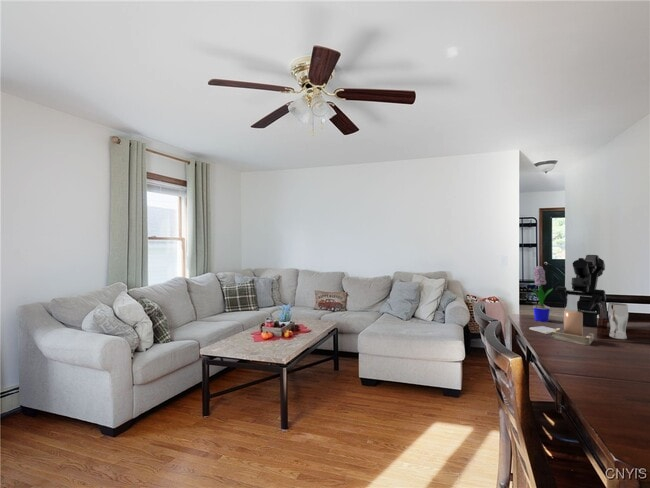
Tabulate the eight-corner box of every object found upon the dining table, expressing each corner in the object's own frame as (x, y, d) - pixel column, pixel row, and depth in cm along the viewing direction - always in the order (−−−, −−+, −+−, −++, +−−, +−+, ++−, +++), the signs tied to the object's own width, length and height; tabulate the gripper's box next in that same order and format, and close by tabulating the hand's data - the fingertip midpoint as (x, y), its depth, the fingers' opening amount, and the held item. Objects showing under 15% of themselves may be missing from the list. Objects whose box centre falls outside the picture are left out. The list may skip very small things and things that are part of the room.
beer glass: (620, 335, 158) (620, 302, 157) (632, 339, 151) (632, 305, 150) (604, 335, 158) (604, 302, 158) (615, 339, 151) (615, 305, 151)
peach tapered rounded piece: (565, 335, 158) (565, 309, 157) (584, 338, 153) (584, 311, 152) (562, 338, 153) (562, 312, 153) (580, 342, 148) (580, 314, 148)
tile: (543, 327, 172) (543, 325, 172) (560, 332, 164) (560, 330, 164) (529, 329, 170) (529, 327, 170) (546, 333, 161) (546, 332, 161)
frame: (557, 334, 160) (557, 327, 160) (593, 340, 150) (593, 333, 150) (551, 338, 153) (551, 332, 153) (588, 345, 143) (588, 338, 143)
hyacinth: (557, 322, 182) (557, 266, 182) (535, 321, 184) (535, 266, 184) (549, 318, 191) (549, 264, 191) (529, 318, 193) (529, 264, 193)
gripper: (556, 270, 168) (550, 295, 161) (604, 272, 155) (600, 300, 147) (560, 284, 174) (554, 309, 167) (607, 287, 160) (603, 315, 153)
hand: (577, 308), depth 158 cm, fingers open, 9 cm apart
